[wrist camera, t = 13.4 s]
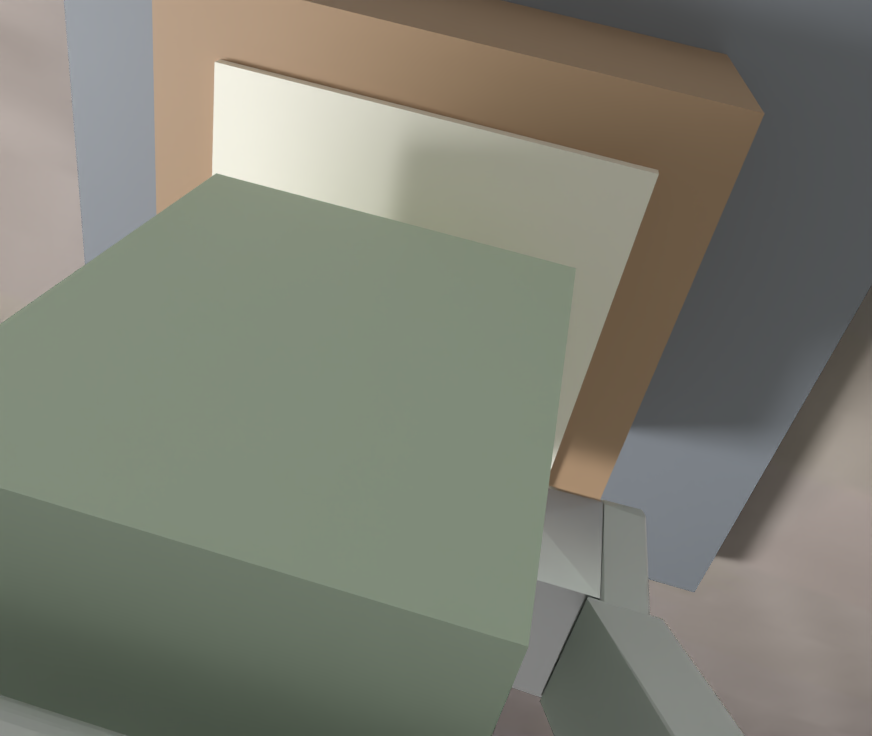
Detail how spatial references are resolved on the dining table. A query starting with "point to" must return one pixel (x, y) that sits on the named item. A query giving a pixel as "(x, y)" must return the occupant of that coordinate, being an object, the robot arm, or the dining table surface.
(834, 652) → the dining table surface
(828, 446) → the dining table surface
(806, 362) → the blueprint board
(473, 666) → the sage block
